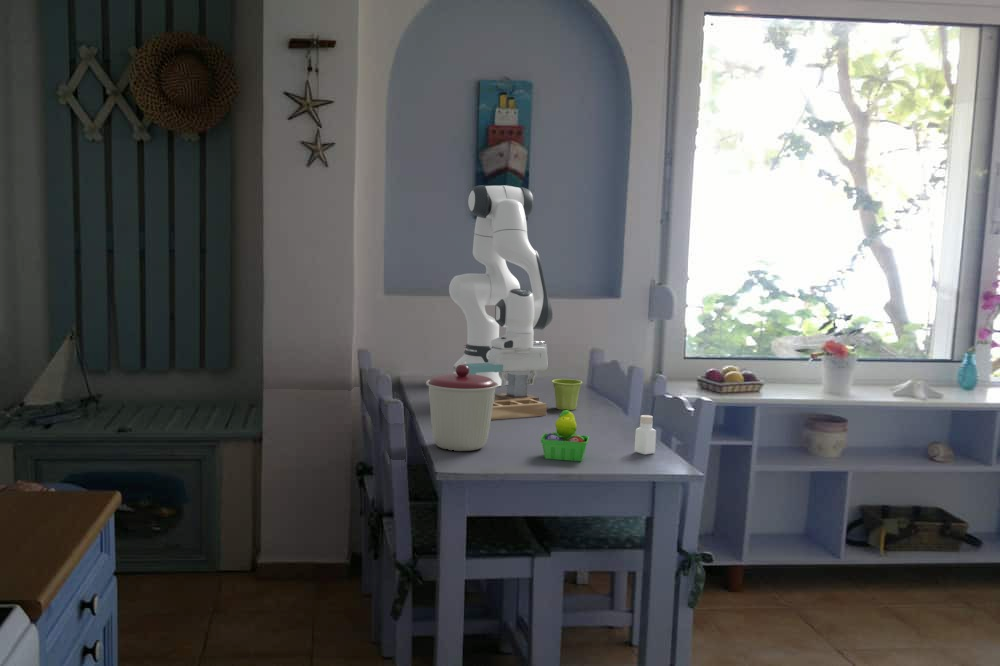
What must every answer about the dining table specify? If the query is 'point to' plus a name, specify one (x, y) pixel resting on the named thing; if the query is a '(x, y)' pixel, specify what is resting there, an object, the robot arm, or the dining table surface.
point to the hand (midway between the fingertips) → (517, 385)
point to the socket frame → (505, 397)
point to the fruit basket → (564, 440)
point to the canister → (461, 409)
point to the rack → (517, 408)
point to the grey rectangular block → (517, 385)
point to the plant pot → (566, 393)
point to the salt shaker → (645, 436)
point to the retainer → (483, 368)
